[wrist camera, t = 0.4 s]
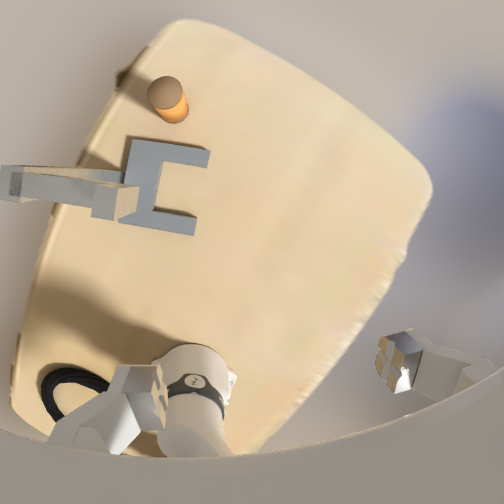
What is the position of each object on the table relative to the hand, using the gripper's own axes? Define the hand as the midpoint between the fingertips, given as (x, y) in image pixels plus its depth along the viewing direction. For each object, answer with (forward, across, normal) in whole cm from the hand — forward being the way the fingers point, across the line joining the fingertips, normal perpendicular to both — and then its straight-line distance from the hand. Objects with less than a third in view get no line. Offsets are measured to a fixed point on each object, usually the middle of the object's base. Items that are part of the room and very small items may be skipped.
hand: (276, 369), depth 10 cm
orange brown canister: (+45, -8, +20) cm, 50 cm away
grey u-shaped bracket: (+45, -11, +6) cm, 46 cm away
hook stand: (+45, -14, +7) cm, 47 cm away
